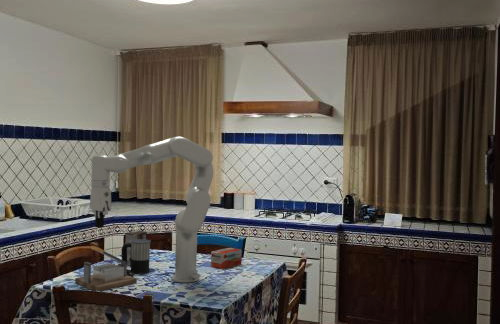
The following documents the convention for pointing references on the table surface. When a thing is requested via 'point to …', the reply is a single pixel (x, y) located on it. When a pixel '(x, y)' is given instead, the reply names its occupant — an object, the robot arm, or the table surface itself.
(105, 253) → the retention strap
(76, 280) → the base board
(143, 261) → the milk frother
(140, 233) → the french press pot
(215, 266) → the medicine box
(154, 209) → the table surface
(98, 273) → the heat sink
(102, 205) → the robot arm
